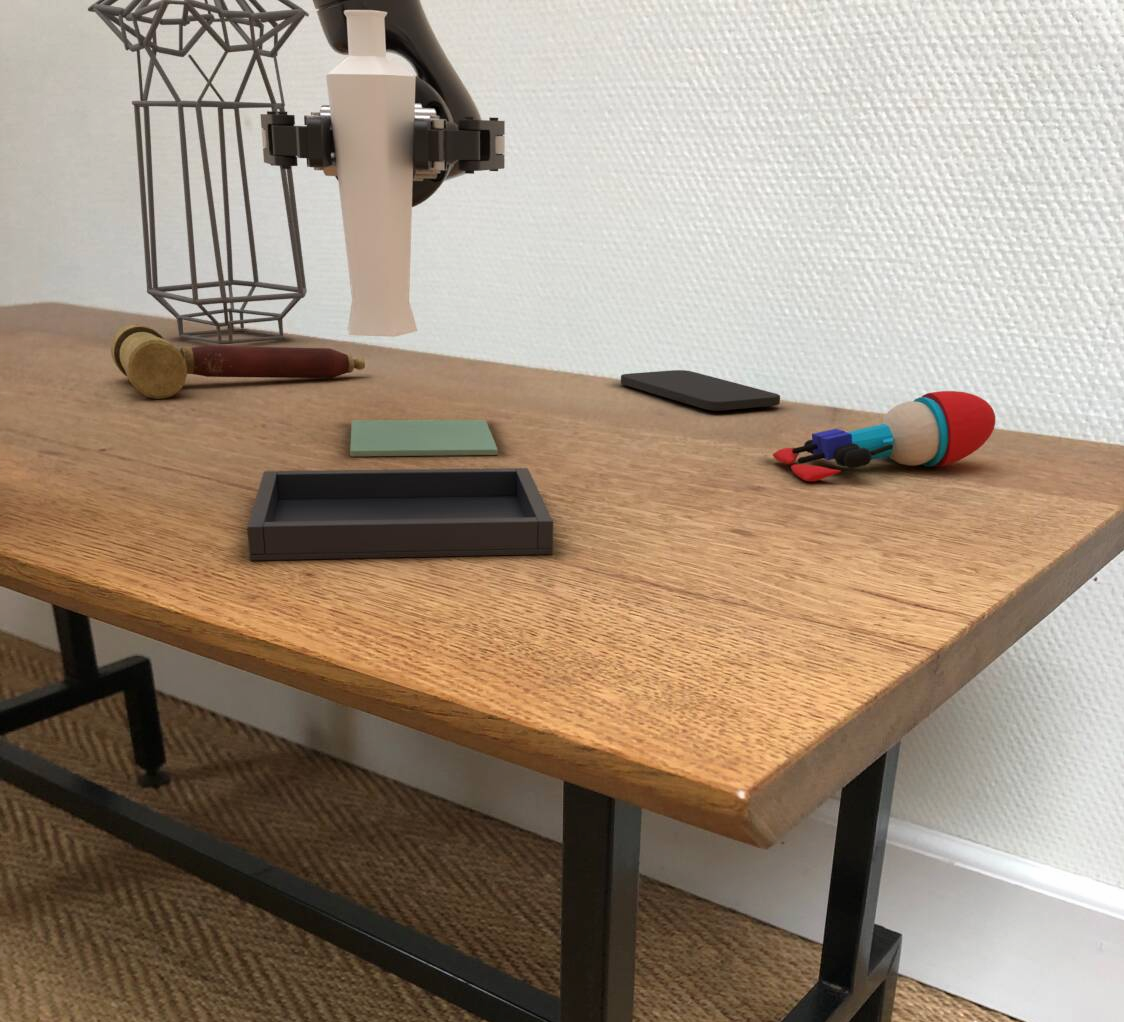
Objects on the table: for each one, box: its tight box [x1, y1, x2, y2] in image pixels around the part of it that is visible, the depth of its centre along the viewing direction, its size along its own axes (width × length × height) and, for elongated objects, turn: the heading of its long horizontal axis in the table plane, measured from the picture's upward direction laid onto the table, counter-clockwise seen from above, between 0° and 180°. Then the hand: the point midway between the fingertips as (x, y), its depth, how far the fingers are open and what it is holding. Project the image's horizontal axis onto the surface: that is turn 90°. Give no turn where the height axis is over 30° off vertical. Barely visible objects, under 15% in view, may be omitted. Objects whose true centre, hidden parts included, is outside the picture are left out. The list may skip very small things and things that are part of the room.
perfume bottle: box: [325, 10, 418, 338], centre depth 65 cm, size 5×4×15 cm
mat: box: [349, 419, 499, 458], centre depth 90 cm, size 10×10×1 cm
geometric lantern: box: [87, 0, 310, 345], centre depth 123 cm, size 16×16×35 cm
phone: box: [620, 369, 781, 412], centre depth 108 cm, size 7×1×15 cm
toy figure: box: [772, 390, 996, 482], centre depth 85 cm, size 8×5×15 cm
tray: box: [246, 467, 554, 562], centre depth 70 cm, size 16×12×2 cm
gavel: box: [110, 323, 366, 400], centre depth 108 cm, size 21×5×10 cm
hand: (368, 144), depth 62 cm, fingers closed on perfume bottle, 4 cm apart
